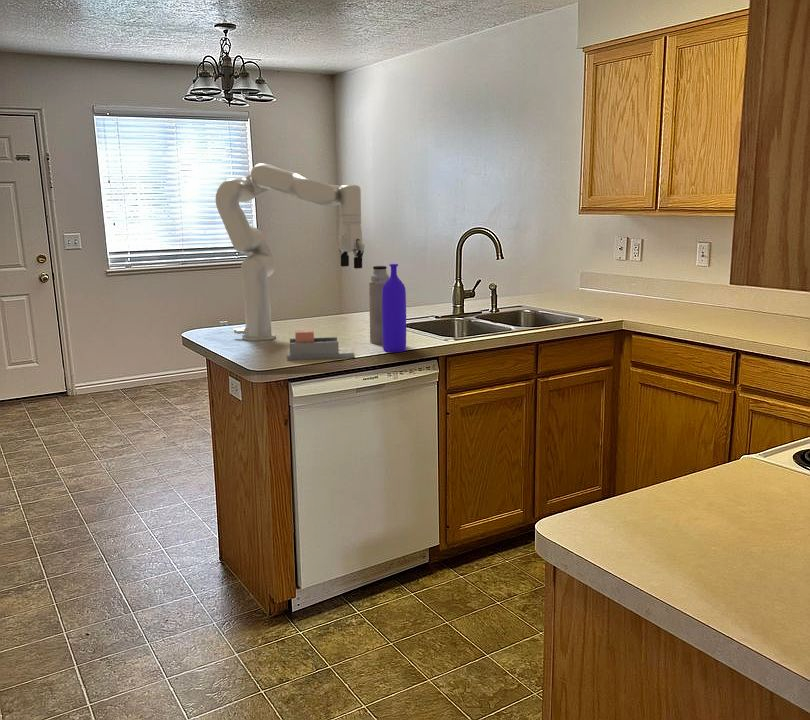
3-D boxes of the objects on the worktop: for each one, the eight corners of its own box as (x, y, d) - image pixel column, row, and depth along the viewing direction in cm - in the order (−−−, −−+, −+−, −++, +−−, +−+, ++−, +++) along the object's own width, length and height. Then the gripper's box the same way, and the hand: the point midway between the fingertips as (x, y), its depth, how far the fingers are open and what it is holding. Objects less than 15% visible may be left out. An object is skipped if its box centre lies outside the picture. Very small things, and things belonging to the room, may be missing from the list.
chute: (287, 360, 245) (286, 343, 244) (287, 354, 255) (286, 338, 254) (353, 357, 248) (353, 341, 247) (351, 351, 258) (351, 336, 257)
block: (296, 353, 247) (295, 332, 246) (296, 350, 253) (295, 329, 251) (314, 352, 248) (313, 332, 247) (313, 349, 254) (313, 329, 252)
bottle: (377, 350, 260) (376, 264, 254) (394, 347, 266) (394, 262, 259) (394, 353, 254) (393, 265, 248) (411, 350, 260) (410, 264, 253)
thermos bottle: (377, 339, 280) (376, 264, 274) (395, 341, 276) (394, 265, 270) (365, 342, 274) (364, 266, 268) (384, 344, 270) (383, 267, 264)
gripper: (330, 219, 275) (331, 266, 278) (353, 220, 261) (354, 269, 264) (347, 219, 279) (348, 265, 282) (371, 220, 265) (372, 268, 268)
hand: (351, 267), depth 273 cm, fingers open, 9 cm apart
